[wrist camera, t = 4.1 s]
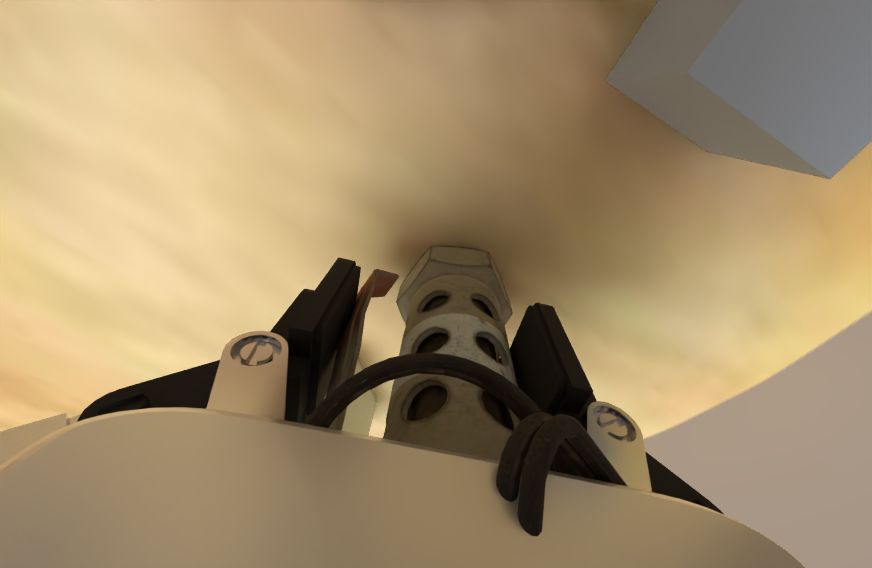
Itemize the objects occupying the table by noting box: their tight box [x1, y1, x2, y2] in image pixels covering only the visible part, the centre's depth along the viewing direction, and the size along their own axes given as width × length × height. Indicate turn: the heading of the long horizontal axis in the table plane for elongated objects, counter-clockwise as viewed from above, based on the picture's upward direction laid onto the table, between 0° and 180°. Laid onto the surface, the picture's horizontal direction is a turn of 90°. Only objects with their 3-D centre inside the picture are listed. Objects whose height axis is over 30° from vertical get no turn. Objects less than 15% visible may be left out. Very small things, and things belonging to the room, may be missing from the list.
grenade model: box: [304, 246, 628, 536], centre depth 9 cm, size 6×7×15 cm
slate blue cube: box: [605, 0, 872, 179], centre depth 9 cm, size 5×5×5 cm
